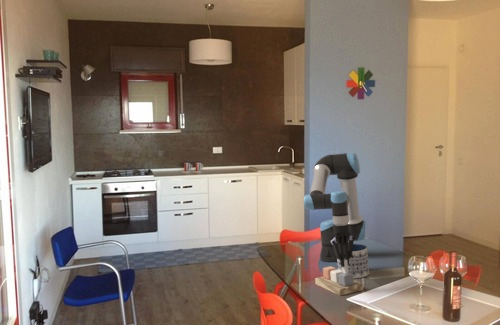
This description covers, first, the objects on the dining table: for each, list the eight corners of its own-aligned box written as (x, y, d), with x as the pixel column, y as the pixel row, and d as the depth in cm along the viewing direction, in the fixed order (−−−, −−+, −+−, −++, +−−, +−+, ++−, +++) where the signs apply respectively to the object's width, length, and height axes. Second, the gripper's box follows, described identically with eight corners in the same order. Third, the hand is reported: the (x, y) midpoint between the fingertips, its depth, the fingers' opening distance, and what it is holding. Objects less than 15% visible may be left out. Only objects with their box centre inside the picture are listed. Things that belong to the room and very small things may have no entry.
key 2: (347, 282, 228) (346, 272, 228) (353, 284, 223) (352, 274, 223) (339, 284, 226) (338, 274, 226) (345, 286, 221) (344, 276, 221)
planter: (336, 278, 244) (333, 251, 244) (341, 270, 259) (338, 244, 259) (367, 279, 239) (365, 251, 238) (370, 270, 254) (368, 243, 253)
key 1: (331, 275, 241) (330, 266, 241) (337, 277, 236) (336, 268, 236) (323, 277, 239) (322, 267, 239) (328, 279, 234) (327, 270, 234)
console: (337, 278, 244) (336, 273, 244) (363, 289, 224) (362, 283, 224) (315, 284, 239) (315, 278, 239) (340, 295, 219) (339, 289, 219)
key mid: (339, 278, 234) (338, 268, 234) (345, 281, 230) (344, 271, 230) (331, 280, 233) (330, 270, 232) (336, 283, 228) (335, 273, 228)
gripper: (348, 220, 229) (352, 268, 230) (325, 225, 224) (329, 274, 225) (357, 222, 222) (361, 272, 224) (333, 227, 217) (338, 277, 218)
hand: (345, 273), depth 224 cm, fingers closed
